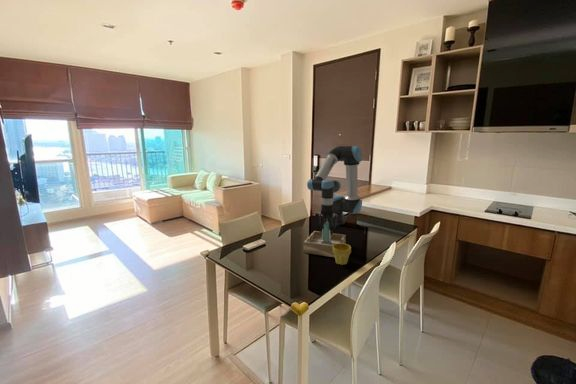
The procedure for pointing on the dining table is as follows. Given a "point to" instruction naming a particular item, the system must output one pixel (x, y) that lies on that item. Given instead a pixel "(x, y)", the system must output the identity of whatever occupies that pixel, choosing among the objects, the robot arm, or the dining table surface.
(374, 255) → the dining table surface
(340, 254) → the plant pot
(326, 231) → the peg
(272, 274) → the dining table surface
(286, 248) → the dining table surface
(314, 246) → the box
